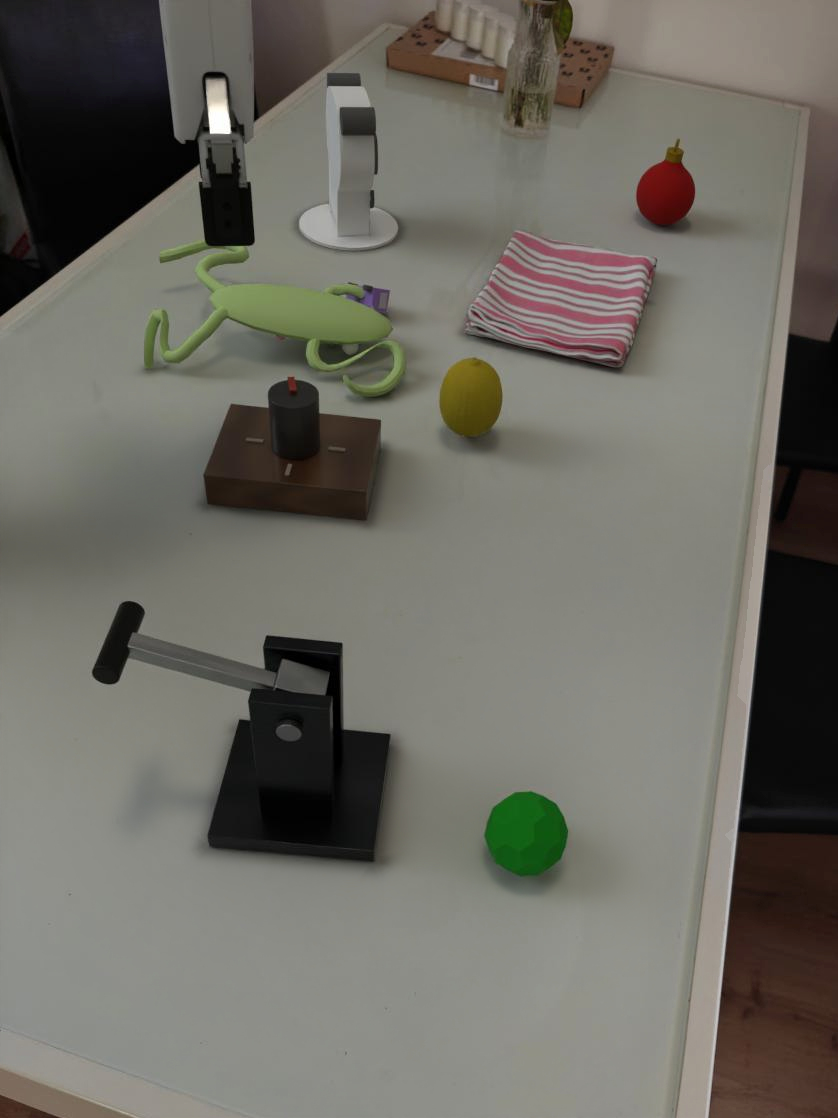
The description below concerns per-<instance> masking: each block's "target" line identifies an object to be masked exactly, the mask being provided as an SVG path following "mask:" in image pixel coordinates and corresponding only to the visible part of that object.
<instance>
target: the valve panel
mask: <svg viewBox="0 0 838 1118" xmlns="http://www.w3.org/2000/svg"><path fill="white" fill-rule="evenodd" d="M319 413H320V449H319V451H318V452H317V453H316V454H315V455H313V456H311V457H309V458H306V459H301V460H291V459H286V458H283V457H280V456H279V455H277V454H276V453H275V452H274V451H273V449H272V447H271V433H270V419H269V407H265V406H257V405H246V404H238V403H230V405H229V408H228V409H227V412H226V414H225V418H224V420H223V423H222V425H221V428H220V431H219V433H218V436H217V438H216V441H215V444H214V446H213V449H212V451H211V454H210V456H209V459H208V462H207V465H206V466H205V469H204V472H203V475H202V477H203V482H204V483H203V484H204V490H205V498H206V499H205V500H206V504H208V505H217V506H225V507H235V508H245V509H246V508H247V509H254V510H255V509H256V510H257V509H258V510H266V511H273V512H274V511H275V512H284V513H285V512H286V513H295V514H304V515H314V516H321V517H322V516H323V517H331V518H332V517H333V518H340V519H341V518H343V519H352V520H361V521H362V520H363V521H366V520H367V519H368V512H369V508H370V504H371V503H370V502H371V499H372V493H373V488H374V484H375V483H374V482H375V478H376V473H377V469H378V468H377V467H378V463H379V458H380V453H381V448H382V447H381V445H382V444H381V442H382V419H379V418H368V417H359V416H351V415H342V414H341V415H340V414H333V413H332V414H331V413H322V412H319Z"/></svg>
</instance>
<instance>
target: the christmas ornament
mask: <svg viewBox="0 0 838 1118" xmlns="http://www.w3.org/2000/svg"><path fill="white" fill-rule="evenodd" d="M679 146H680V138H676V140H675V144H674V146H670V147H669V146H668V147H667V148H666V152H665V153H666V154H665V158H664V159H663V160H662V161H661V162H658V163H656V164H653V165H652V166H650V167H649V168H648V169H647V170H645V172H644V173H643V174H642V175H641V177H640V179H639V180H638V183H637V186H636V192H635V200H636V204H637V208H638V210H639V212H640V213H641V215H642V216H643V217H644V218H645V219H646V220H647V221H648V222H650V223H652V224H654V225H657V226H670V225H673V224H675V223H678V222H679V221H681V220H683V218H684V217H686V216H687V215H688V213H689V212H690V211H691V209H692V207H693V205H694V202H695V199H696V185H695V181H694V178H693V176H692V174H691V172H689V170H688V169H687V168H686V167H685V166H684V164H683V158H684V157H683V156H684V154H685V151H684V149H682V148H680V147H679Z"/></svg>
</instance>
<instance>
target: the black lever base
mask: <svg viewBox="0 0 838 1118" xmlns="http://www.w3.org/2000/svg"><path fill="white" fill-rule="evenodd" d="M262 653H263V664H264V669H265V670H269V671H272V672H276V673H277V671H278V668H279V666H280V663H281V660H282V659H287V660H290V661H294V662H297V663H301V664H304V665H308V666H311V667H315V668H318V669H322V670H325V671H329V672H330V675H329V680H328V685H327V689H326V694H325V695H318V694H308V693H298V692H287V691H277V690H267V689H257V688H252V689H251V692H249V696H248V699H247V704H248V713H249V719H243V718H242V719H241V718H240V719H238V722H237V725H236V728H235V729H236V730H235V733H234V737H233V740H232V744H231V748H230V751H229V755H228V758H227V762H226V766H225V769H224V773H223V777H222V780H221V783H220V787H219V791H218V794H217V798H216V803H215V806H214V810H213V813H212V817H211V821H210V825H209V828H208V832H207V835H206V836H207V843H208V847H211V848H223V849H231V850H232V849H233V850H241V851H242V850H243V851H255V852H264V853H275V854H287V855H296V856H308V857H316V858H317V857H319V858H329V859H339V860H350V861H361V862H370V863H372V862H374V861H375V856H376V848H377V842H378V835H379V827H380V822H381V821H380V820H381V815H382V813H381V812H382V806H383V799H384V792H385V787H386V786H385V785H386V777H387V771H388V763H389V757H390V749H391V738H392V737H391V736H392V735H391V733H385V732H377V731H376V732H375V731H365V730H353V729H345V727H344V726H345V725H344V723H345V722H344V721H345V720H344V719H345V718H344V716H345V715H344V644H343V642H340V641H331V640H330V641H329V640H321V639H320V640H319V639H311V638H308V639H307V638H302V637H301V638H300V637H291V636H290V637H289V636H282V635H281V636H280V635H270V634H267V635H265V638H264V640H263V645H262Z"/></svg>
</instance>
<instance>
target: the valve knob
mask: <svg viewBox="0 0 838 1118" xmlns="http://www.w3.org/2000/svg"><path fill="white" fill-rule="evenodd" d="M267 403H268V408H269V419H270V433H271V447H272V449H273V451H274V452H275V453H276V454H277V455H279V456H280V457H283V458H286V459H291V460H301V459H306V458H309V457H311V456H313V455H315V454H316V453H317V452H318V451H319V449H320V413H321V412H320V392H319V390H318V388H317V387H316V386H315V385H314V384H312V383H311V382H308V381H305V380H301V379H296V378H295V376H287V377H286V379H285V380H280V381H278V382H276V383H274V384H273V385H271V386H270V388H269V389H268V391H267Z"/></svg>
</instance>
